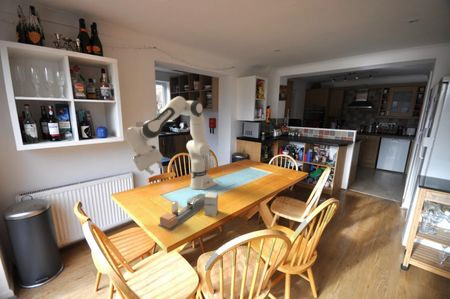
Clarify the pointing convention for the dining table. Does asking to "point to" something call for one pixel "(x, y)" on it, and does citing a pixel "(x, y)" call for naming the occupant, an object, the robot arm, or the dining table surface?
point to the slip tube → (180, 212)
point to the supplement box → (211, 203)
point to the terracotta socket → (168, 220)
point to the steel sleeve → (196, 201)
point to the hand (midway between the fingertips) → (157, 170)
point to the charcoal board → (184, 217)
